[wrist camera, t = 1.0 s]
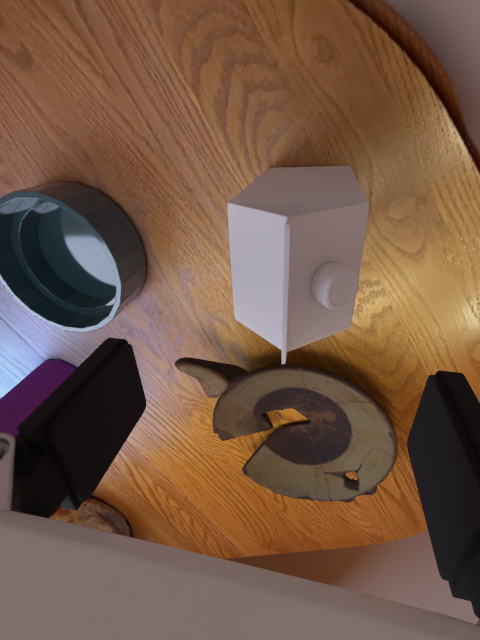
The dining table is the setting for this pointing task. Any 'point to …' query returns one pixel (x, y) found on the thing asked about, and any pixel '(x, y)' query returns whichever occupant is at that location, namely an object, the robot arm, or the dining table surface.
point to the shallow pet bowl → (69, 255)
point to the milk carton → (297, 253)
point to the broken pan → (302, 428)
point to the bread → (95, 517)
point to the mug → (31, 393)
